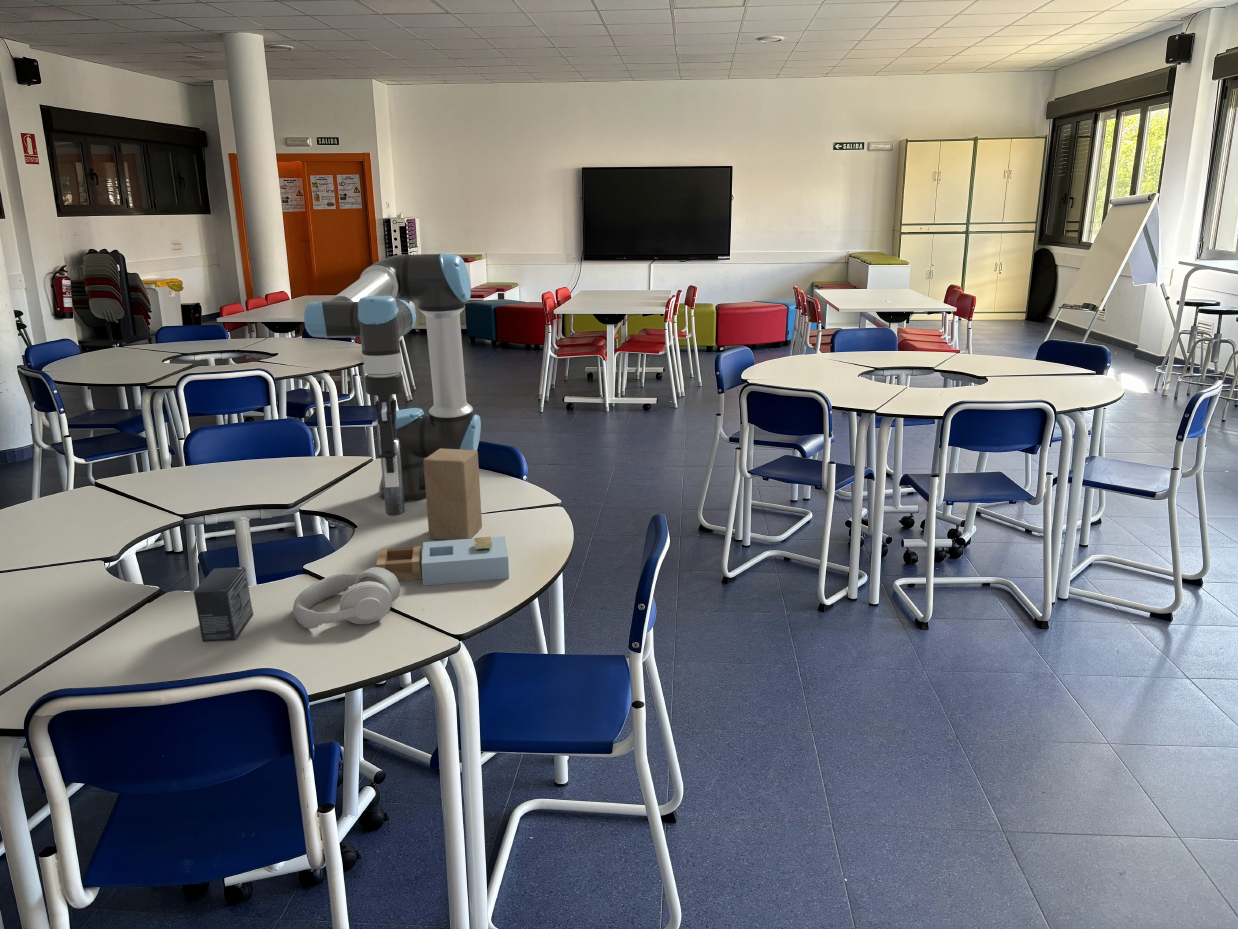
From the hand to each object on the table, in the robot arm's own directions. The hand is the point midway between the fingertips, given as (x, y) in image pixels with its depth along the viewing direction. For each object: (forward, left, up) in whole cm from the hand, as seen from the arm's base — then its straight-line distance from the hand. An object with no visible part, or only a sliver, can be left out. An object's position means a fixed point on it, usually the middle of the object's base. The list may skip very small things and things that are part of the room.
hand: (392, 482), depth 183 cm
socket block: (+2, +14, -21) cm, 25 cm away
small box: (+20, -31, -21) cm, 42 cm away
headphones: (+17, -9, -21) cm, 29 cm away
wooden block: (-21, +12, -21) cm, 32 cm away
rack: (0, 0, -21) cm, 21 cm away
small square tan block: (+2, +18, -19) cm, 27 cm away
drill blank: (0, 0, -7) cm, 7 cm away
